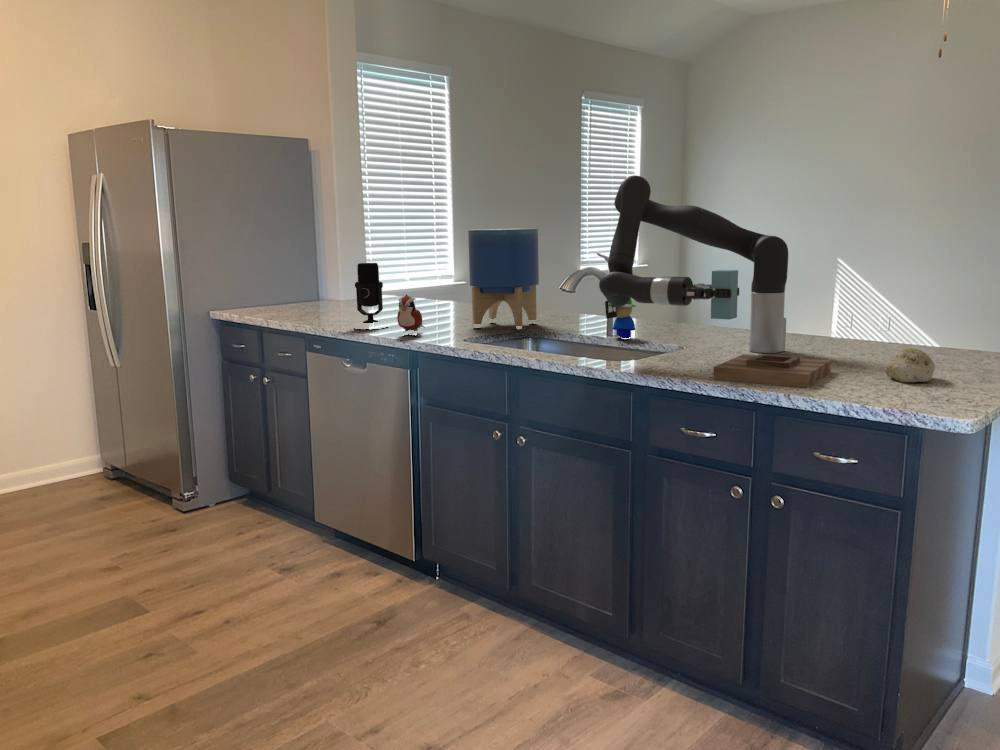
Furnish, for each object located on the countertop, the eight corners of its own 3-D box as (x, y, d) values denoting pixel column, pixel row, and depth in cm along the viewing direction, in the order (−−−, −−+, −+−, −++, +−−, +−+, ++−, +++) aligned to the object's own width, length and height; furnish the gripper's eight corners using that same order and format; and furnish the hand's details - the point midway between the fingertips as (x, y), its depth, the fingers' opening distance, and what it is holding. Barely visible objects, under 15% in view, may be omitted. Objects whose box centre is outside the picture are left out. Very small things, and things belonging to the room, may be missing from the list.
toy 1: (392, 338, 282) (390, 295, 279) (408, 332, 298) (406, 291, 295) (415, 338, 280) (414, 295, 277) (430, 332, 296) (429, 291, 293)
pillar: (717, 316, 209) (719, 269, 207) (736, 317, 206) (738, 270, 204) (710, 318, 205) (711, 271, 203) (729, 319, 202) (731, 271, 200)
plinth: (742, 365, 213) (743, 349, 213) (830, 372, 201) (831, 355, 200) (713, 379, 196) (713, 362, 195) (807, 387, 183) (808, 369, 183)
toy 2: (603, 338, 270) (603, 293, 268) (627, 336, 273) (627, 292, 271) (616, 341, 262) (616, 295, 259) (640, 339, 265) (641, 294, 263)
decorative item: (884, 356, 198) (927, 342, 192) (898, 390, 196) (941, 376, 191) (875, 357, 188) (920, 342, 182) (889, 393, 186) (935, 379, 181)
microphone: (347, 329, 310) (343, 264, 305) (363, 325, 322) (359, 262, 318) (379, 330, 306) (376, 263, 301) (394, 326, 318) (391, 262, 314)
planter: (460, 325, 315) (457, 230, 308) (520, 320, 326) (518, 228, 319) (488, 332, 292) (485, 229, 285) (551, 327, 302) (550, 228, 296)
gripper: (660, 278, 206) (725, 279, 196) (682, 274, 218) (745, 275, 208) (660, 307, 207) (724, 310, 198) (682, 302, 219) (744, 304, 209)
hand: (734, 292), depth 203 cm, fingers closed on pillar, 5 cm apart
